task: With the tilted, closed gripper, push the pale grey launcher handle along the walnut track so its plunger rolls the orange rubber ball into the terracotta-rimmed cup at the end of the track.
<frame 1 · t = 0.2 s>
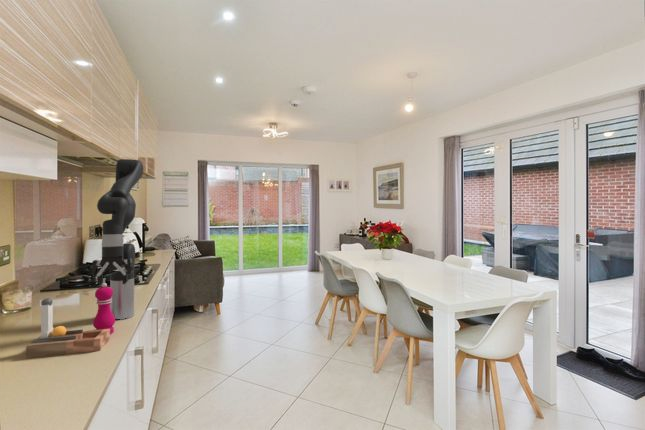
hand: (112, 284, 133), 18 cm above the counter, tool pointing down, fingers open, 8 cm apart
ball: (59, 332, 113), point 6 cm above the counter, touching launcher track
launcher track: (71, 347, 114), on the counter
launcher plunger: (47, 318, 112), point 11 cm above the counter, slide at 0.0 cm
pepper mill: (104, 333, 127), on the counter
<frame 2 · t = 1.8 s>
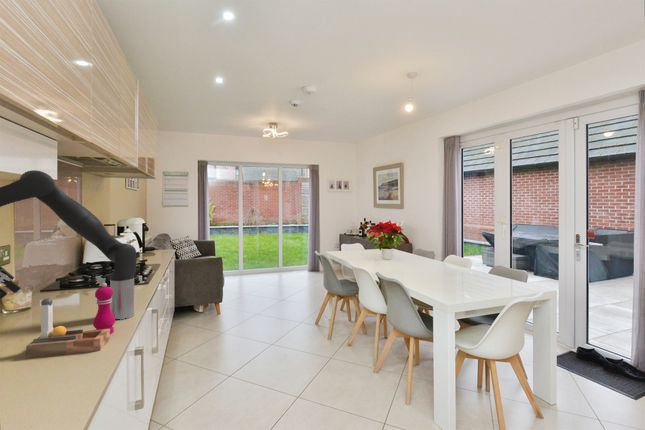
hand: (11, 293, 109), 21 cm above the counter, tool tilted 45°, fingers open, 6 cm apart
nothing on the counter moved.
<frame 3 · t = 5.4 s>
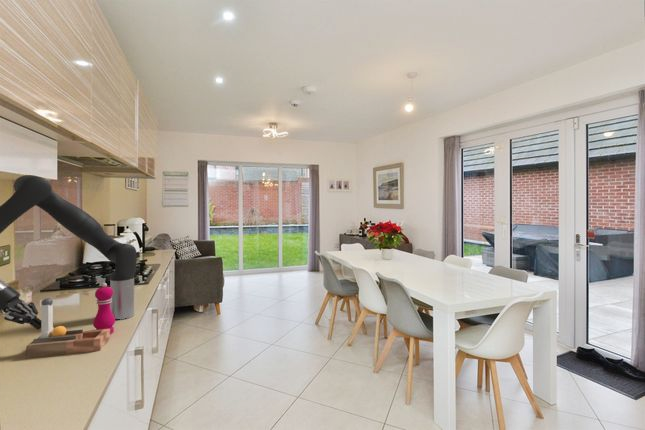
hand: (42, 326, 111), 8 cm above the counter, tool tilted 45°, fingers closed
launcher plunger: (47, 318, 112), point 11 cm above the counter, slide at 0.1 cm, touching gripper
everything else where it was.
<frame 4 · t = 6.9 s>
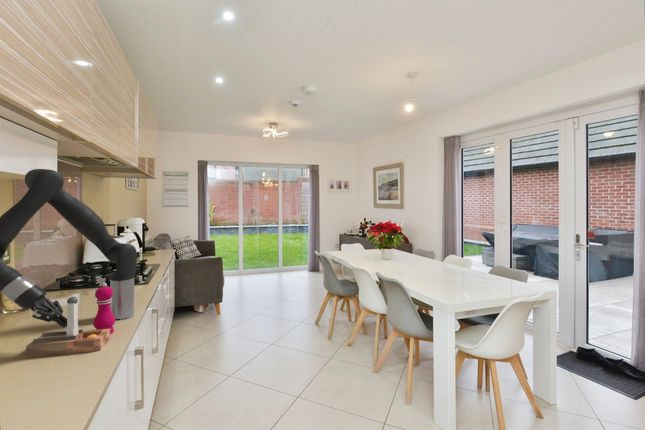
hand: (67, 324, 114), 8 cm above the counter, tool tilted 45°, fingers closed
ball: (92, 340, 116), point 2 cm above the counter, tilted 41°
launcher plunger: (72, 316, 114), point 11 cm above the counter, slide at 7.5 cm, touching gripper
everything else where it was.
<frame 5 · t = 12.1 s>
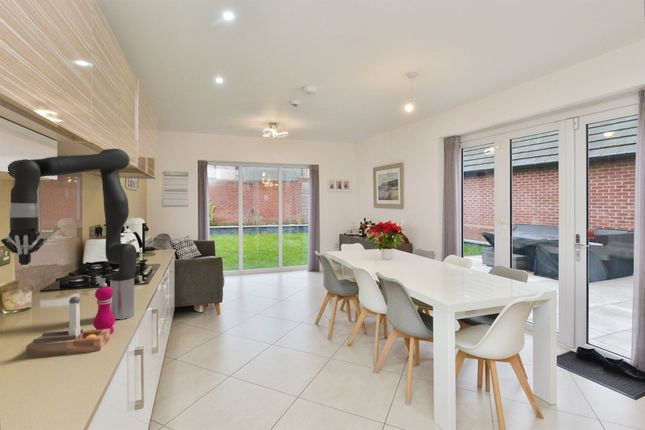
hand: (24, 264, 115), 29 cm above the counter, tool pointing down, fingers closed
ball: (91, 340, 116), point 2 cm above the counter, tilted 51°
launcher plunger: (74, 316, 114), point 11 cm above the counter, slide at 8.1 cm
everything else where it was.
at the end: ball 0.6 cm from the target spot on the launcher track, point 2.0 cm above the launcher track's base; launcher plunger slide at 8.1 cm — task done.
